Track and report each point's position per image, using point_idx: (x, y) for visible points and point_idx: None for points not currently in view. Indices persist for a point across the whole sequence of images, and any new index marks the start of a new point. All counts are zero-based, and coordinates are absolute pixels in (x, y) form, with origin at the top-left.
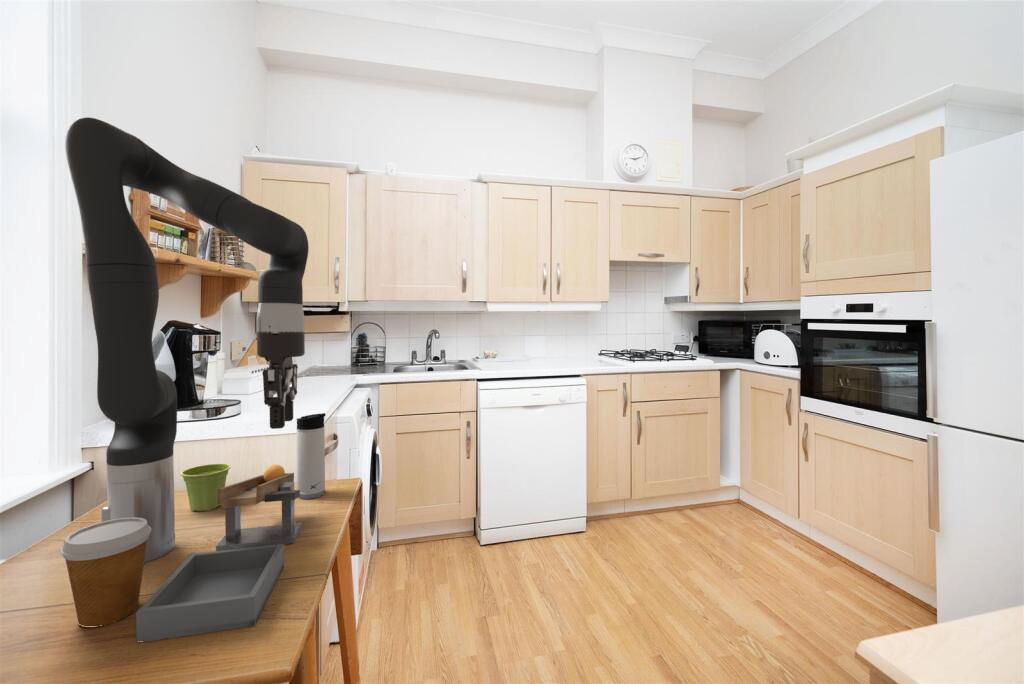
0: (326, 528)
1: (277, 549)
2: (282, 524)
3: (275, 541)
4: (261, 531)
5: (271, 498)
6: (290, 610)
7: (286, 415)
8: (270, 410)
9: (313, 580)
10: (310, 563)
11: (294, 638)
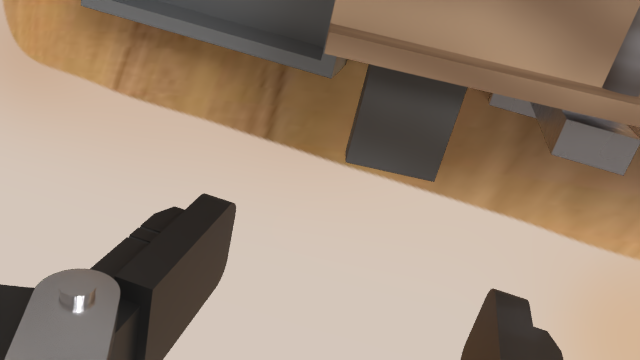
0: (546, 198)
1: (301, 60)
2: None
3: None
4: None
5: (366, 76)
6: (149, 67)
7: (477, 356)
8: (132, 264)
9: (247, 122)
10: (334, 126)
11: (63, 67)
